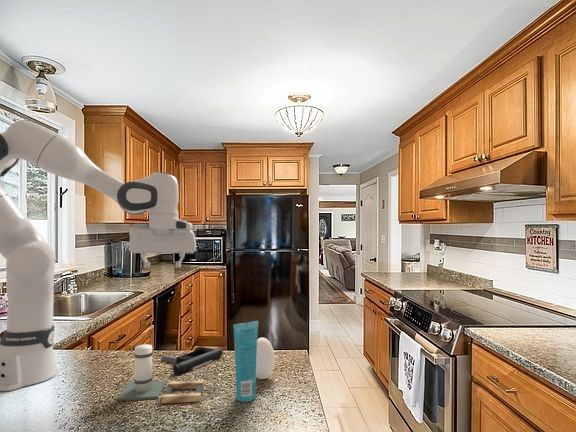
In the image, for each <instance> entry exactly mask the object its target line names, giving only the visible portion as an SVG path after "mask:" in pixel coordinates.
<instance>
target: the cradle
mask: <svg viewBox="0 0 576 432" xmlns="http://www.w3.org/2000/svg"><path fill="white" fill-rule="evenodd" d="M204 381H205V380H203V379H201V380H183V381H182V380H181V381H180V380H178V381H168V383H167V386H166V388H165V391H164V393H163V394H162V395H161V400H160V402H161V403H160V404H177V403H191V402H192V403H194V402H195V403H196V402H198V403H199V402H201V398H202V395H203V389H204V385H205V383H204ZM192 389H195V392H190V393H189V392H188V393H187V392H186V393H173V391H174V390H192Z"/></svg>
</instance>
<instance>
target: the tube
mask: <svg viewBox="0 0 576 432" xmlns="http://www.w3.org/2000/svg"><path fill="white" fill-rule="evenodd" d="M258 335H259V320H254V321H250V322H249V321H248V322H242V323H241V322H240V323H236V324H233V341H234V342H233V343H234V361H235V366H234V367H235V396H236V397H235V398H236V400H237V401H239V402H241V403H242V402H245V403H246V402H251V401H254V400H255V399H256V390H257V389H256V387H257V385H256V381H257V377H256V356H257V340H258Z"/></svg>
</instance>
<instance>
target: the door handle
mask: <svg viewBox="0 0 576 432" xmlns="http://www.w3.org/2000/svg"><path fill="white" fill-rule="evenodd" d="M223 351H224V350H223V349H222V348H220V347H218V348H211V347H207V346H206V347H204V346H198V347H195V348H194V350H193V351H192V352H189V353H186V354H182V355H180V356H174V355H169V354H164V355H161V361H162V360H164V361H163V362H166V361H167V362H166V363H169V362H170V364H174V365H173V367H172V372H173V373H174V374H175V375H177V374H178V375H179V373H180V374H182V373H185V372H187V371H190V370H195V369H198V368H201V367H202V366H205V365H207V364H209V363H212V362H213V361H214V360H217V359H219V358H221V357H222V356H223V354H224V352H223Z"/></svg>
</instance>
